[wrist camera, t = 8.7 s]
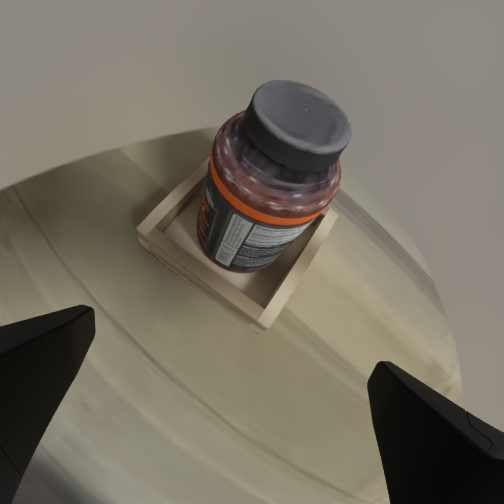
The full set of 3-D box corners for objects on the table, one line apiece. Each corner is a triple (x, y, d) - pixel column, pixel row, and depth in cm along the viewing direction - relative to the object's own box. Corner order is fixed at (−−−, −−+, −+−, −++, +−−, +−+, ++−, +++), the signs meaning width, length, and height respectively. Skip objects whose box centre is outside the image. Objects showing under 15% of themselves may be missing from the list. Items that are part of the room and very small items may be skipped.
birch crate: (257, 333, 18) (268, 329, 16) (140, 244, 19) (135, 228, 16) (323, 229, 23) (338, 215, 20) (224, 158, 23) (230, 138, 21)
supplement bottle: (198, 191, 20) (230, 52, 10) (279, 202, 22) (355, 86, 12) (191, 273, 18) (219, 152, 8) (282, 280, 20) (390, 188, 9)
